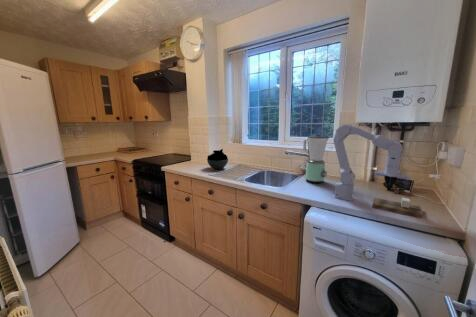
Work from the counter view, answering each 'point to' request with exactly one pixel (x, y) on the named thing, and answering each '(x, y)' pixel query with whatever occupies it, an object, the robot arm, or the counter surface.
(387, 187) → the robot arm
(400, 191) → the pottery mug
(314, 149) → the green blender
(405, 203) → the fader
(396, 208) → the brown flat slab
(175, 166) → the counter surface
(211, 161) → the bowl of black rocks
